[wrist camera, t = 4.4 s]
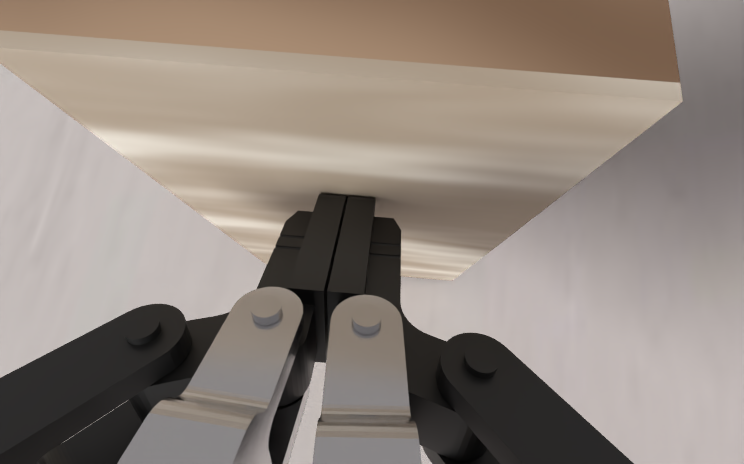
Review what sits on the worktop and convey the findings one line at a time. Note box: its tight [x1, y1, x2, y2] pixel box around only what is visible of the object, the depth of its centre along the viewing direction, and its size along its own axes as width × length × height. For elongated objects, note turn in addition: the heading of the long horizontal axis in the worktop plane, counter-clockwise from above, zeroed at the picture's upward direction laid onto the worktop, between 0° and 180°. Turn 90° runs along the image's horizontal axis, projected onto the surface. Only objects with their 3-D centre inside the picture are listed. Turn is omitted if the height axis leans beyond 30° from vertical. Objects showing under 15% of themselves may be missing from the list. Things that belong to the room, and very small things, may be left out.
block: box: [0, 0, 683, 281], centre depth 14 cm, size 4×10×16 cm, turn 85°
